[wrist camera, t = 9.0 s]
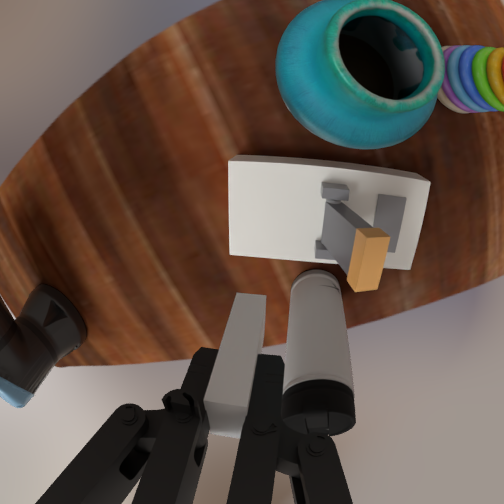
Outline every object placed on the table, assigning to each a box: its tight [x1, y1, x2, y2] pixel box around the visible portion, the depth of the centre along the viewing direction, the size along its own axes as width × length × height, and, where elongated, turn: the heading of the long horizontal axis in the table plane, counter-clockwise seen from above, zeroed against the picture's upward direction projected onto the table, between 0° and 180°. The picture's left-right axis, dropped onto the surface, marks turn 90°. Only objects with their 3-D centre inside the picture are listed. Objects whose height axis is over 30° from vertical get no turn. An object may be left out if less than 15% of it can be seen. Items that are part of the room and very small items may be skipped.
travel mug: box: [281, 269, 356, 436], centre depth 27 cm, size 6×7×20 cm
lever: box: [321, 199, 390, 292], centre depth 23 cm, size 2×4×9 cm, turn 179°
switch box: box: [228, 155, 431, 270], centre depth 28 cm, size 20×10×6 cm, turn 89°
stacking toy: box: [437, 45, 504, 113], centre depth 13 cm, size 8×8×19 cm
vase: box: [276, 0, 445, 149], centre depth 17 cm, size 11×11×19 cm
